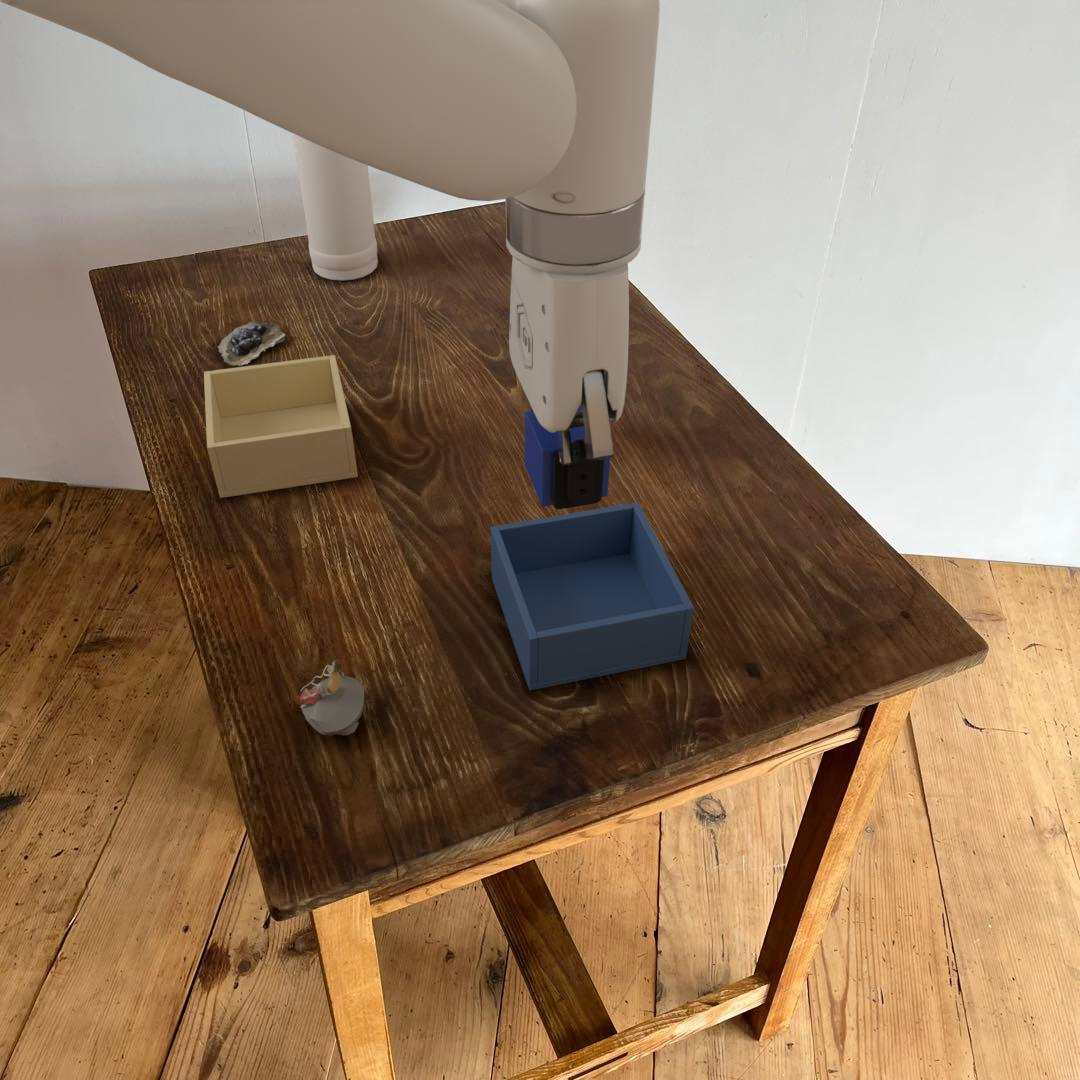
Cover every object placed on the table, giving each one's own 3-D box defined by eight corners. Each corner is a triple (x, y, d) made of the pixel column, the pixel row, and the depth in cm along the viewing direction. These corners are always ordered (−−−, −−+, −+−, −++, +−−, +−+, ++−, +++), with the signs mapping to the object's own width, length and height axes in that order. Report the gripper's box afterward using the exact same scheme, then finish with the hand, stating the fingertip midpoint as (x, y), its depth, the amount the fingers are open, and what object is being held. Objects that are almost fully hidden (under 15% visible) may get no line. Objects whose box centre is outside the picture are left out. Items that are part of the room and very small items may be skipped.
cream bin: (220, 498, 90) (206, 447, 86) (215, 420, 98) (203, 371, 95) (358, 477, 92) (351, 427, 88) (341, 403, 101) (335, 354, 97)
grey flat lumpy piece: (296, 332, 111) (293, 317, 109) (263, 371, 105) (260, 355, 104) (239, 324, 112) (236, 308, 111) (204, 361, 106) (200, 346, 105)
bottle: (327, 288, 118) (287, 6, 98) (302, 260, 123) (258, -13, 103) (389, 271, 121) (363, -5, 101) (362, 245, 126) (332, -23, 106)
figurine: (366, 746, 70) (356, 690, 66) (301, 750, 70) (287, 694, 66) (368, 687, 74) (359, 631, 70) (307, 690, 74) (295, 635, 70)
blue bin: (529, 691, 74) (529, 639, 70) (491, 578, 83) (490, 526, 79) (685, 659, 76) (694, 607, 73) (633, 552, 85) (638, 501, 81)
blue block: (541, 507, 66) (542, 452, 63) (524, 466, 69) (524, 411, 66) (607, 496, 67) (611, 441, 64) (587, 456, 70) (590, 401, 67)
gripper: (474, 165, 61) (482, 415, 73) (548, 301, 49) (544, 574, 61) (593, 154, 62) (582, 401, 75) (695, 283, 50) (661, 553, 62)
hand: (565, 476), depth 68 cm, fingers closed on blue block, 4 cm apart
